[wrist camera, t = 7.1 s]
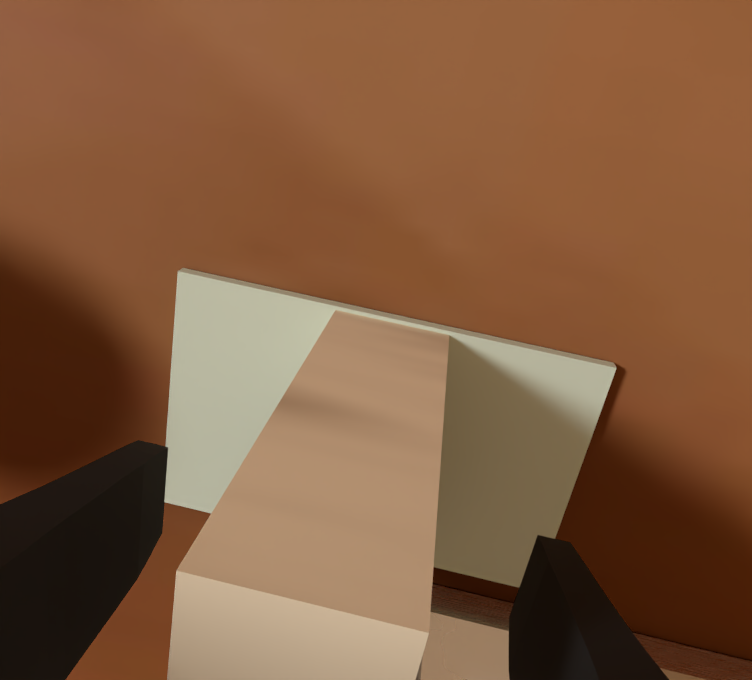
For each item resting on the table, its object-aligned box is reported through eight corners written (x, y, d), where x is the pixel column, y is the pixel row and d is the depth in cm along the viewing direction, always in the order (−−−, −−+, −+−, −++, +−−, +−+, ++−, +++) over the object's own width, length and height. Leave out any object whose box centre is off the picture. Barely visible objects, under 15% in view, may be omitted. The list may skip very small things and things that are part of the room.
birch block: (397, 548, 16) (333, 964, 9) (298, 524, 17) (147, 913, 9) (449, 335, 14) (429, 632, 6) (335, 309, 14) (175, 570, 6)
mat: (534, 583, 17) (536, 591, 16) (166, 494, 17) (162, 501, 17) (613, 362, 14) (616, 367, 14) (183, 268, 15) (178, 271, 14)
